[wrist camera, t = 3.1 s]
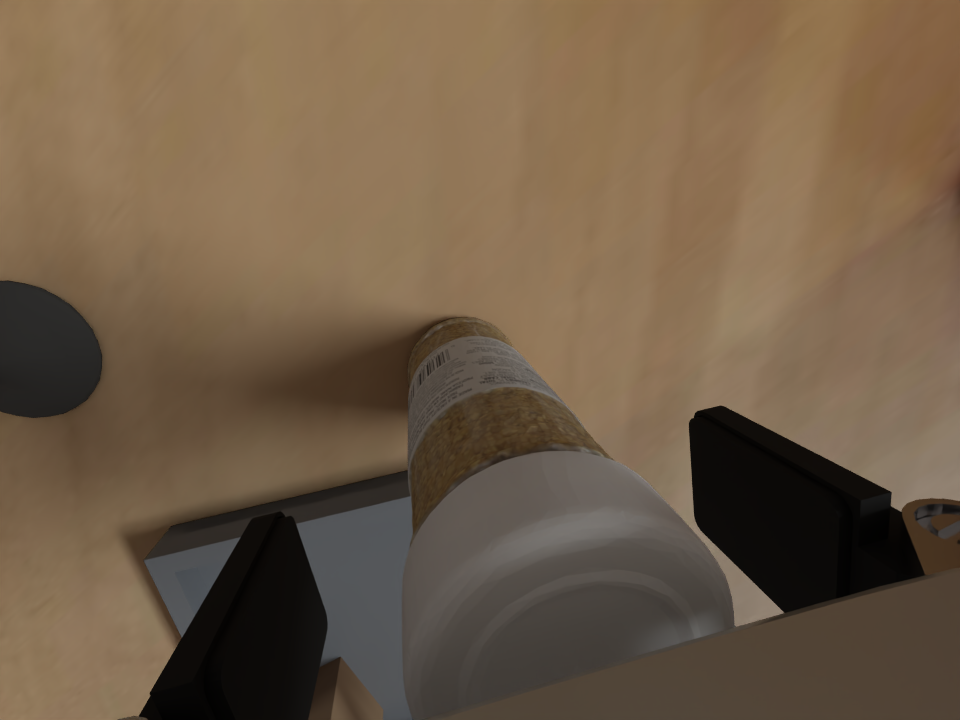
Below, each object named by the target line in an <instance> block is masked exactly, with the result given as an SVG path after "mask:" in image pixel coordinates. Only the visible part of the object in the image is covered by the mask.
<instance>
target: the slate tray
mask: <svg viewBox="0 0 960 720" xmlns="http://www.w3.org/2000/svg"><path fill="white" fill-rule="evenodd" d="M279 511H281V512H283V514H284V515H285V517H287V516H292V517H293V518H294V520H295V522H296V525H297V528H298V531H299V534H300V537H301V540H302V543H303V546H304V549H305V552H306V555H307V558H308V561H309V564H310V567H311V569H312V572H313V575H314V578H315V581H316V584H317V587H318V590H319V593H320V596H321V599H322V602H323V605H324V608H325V611H326V614H327V621H328V629H327V635H326V640H325V644H324V649H323V654H322V658H321V663H320V667H321V666H323V665H325V664H327V663H329V662H331V661H333V660H335V659H337V658H339V657H341V658H342V659H343V660H344V661H345V663H346V664H347V665H348V666H349V668H350V669H351V670H352V671H353V673H354V674H355V675H356V676H357V678H358V679H359V680H360V681H361V682H362V684H363V685H364V686H365V687H366V689H367V690H368V691H369V692H370V694H371V695H372V696H373V697H374V699H375V700H376V701H377V702H378V704H379V705H380V706H381V707H382V709H383V720H413V718H412V716H411V713H410V710H409V706H408V703H407V700H406V696H405V689H404V680H403V660H402V578H403V572H404V567H405V562H406V559H407V555H408V552H409V549H410V542H411V539H412V536H413V527H412V503H411V496H410V492H409V485H408V471H404V472H400V473H396V474H391V475H387V476H383V477H379V478H374V479H370V480H366V481H362V482H357V483H353V484H349V485H345V486H340V487H336V488H332V489H328V490H323V491H319V492H315V493H311V494H306V495H302V496H298V497H294V498H289V499H285V500H281V501H277V502H272V503H268V504H264V505H260V506H255V507H251V508H247V509H243V510H238V511H234V512H230V513H226V514H221V515H217V516H213V517H209V518H204V519H200V520H196V521H192V522H187V523H183V524H179V525H175V526H171V527H170V528H169V530H168V531H167V532H166V533H165V534H164V536H163V537H162V538H161V539H160V541H159V542H158V543H157V544H156V546H155V547H154V548H153V549H152V551H151V552H150V553H149V554H148V556H147V557H146V558H145V559H144V562H145V564H146V566H147V568H148V571H149V573H150V575H151V577H152V579H153V581H154V583H155V585H156V587H157V589H158V591H159V593H160V595H161V597H162V599H163V601H164V603H165V605H166V607H167V609H168V611H169V613H170V615H171V617H172V619H173V621H174V623H175V625H176V627H177V629H178V631H179V633H180V635H181V637H183V635H184V634H185V632H186V630H187V628H188V627H189V625H190V623H191V622H192V620H193V618H194V616H195V615H196V613H197V611H198V610H199V608H200V606H201V604H202V603H203V601H204V599H205V597H206V596H207V594H208V592H209V591H210V589H211V587H212V585H213V584H214V582H215V580H216V579H217V577H218V575H219V573H220V572H221V570H222V568H223V567H224V565H225V563H226V561H227V560H228V558H229V556H230V555H231V553H232V551H233V549H234V548H235V546H236V544H237V543H238V541H239V539H240V537H241V536H242V534H243V532H244V531H245V529H246V527H247V525H248V524H249V522H250V520H251V519H252V518H254V517H258V516H262V515H266V514H271V513H275V512H279Z"/></svg>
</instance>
